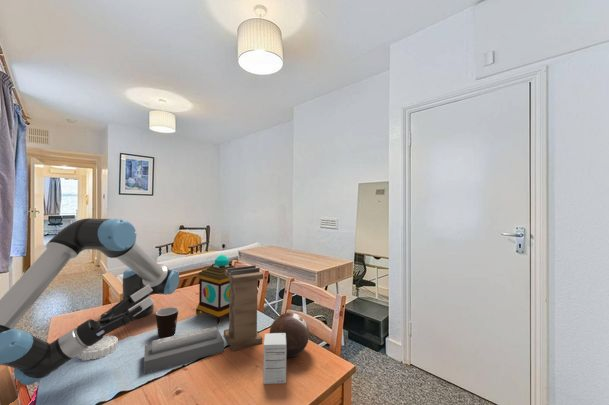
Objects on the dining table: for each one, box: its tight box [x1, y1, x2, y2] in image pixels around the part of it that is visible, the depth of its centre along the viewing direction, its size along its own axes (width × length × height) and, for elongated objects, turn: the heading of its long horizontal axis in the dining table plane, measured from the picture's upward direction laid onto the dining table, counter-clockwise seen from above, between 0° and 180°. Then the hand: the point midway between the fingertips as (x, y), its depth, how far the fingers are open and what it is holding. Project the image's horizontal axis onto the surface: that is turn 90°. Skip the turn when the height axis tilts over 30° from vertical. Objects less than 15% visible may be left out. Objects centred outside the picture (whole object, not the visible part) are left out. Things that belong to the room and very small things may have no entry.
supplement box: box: [262, 332, 287, 385], centre depth 86 cm, size 7×7×13 cm
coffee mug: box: [155, 306, 179, 339], centre depth 112 cm, size 12×9×10 cm
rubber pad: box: [143, 328, 225, 374], centre depth 97 cm, size 11×26×4 cm, turn 121°
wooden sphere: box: [269, 312, 310, 358], centre depth 98 cm, size 15×15×15 cm
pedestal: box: [223, 264, 264, 352], centre depth 108 cm, size 14×12×30 cm
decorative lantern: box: [195, 254, 236, 324], centre depth 132 cm, size 20×20×30 cm
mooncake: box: [77, 334, 119, 361], centre depth 98 cm, size 12×12×4 cm
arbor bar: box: [151, 326, 218, 353], centre depth 97 cm, size 3×22×3 cm, turn 121°
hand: (151, 293), depth 91 cm, fingers open, 13 cm apart
